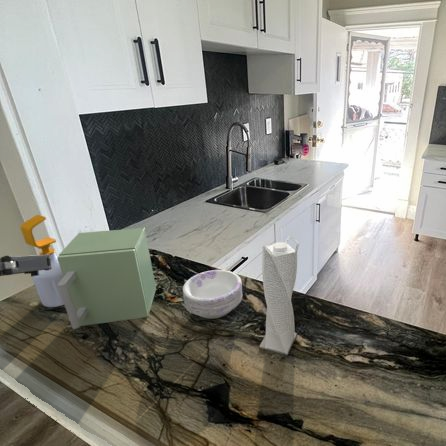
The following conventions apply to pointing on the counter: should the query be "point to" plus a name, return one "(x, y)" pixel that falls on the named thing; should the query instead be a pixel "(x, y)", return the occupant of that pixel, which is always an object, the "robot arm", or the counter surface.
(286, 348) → the skyscraper
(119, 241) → the cupboard
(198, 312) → the paper bowls
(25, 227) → the soap bottle
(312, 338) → the counter surface
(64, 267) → the cupboard door
